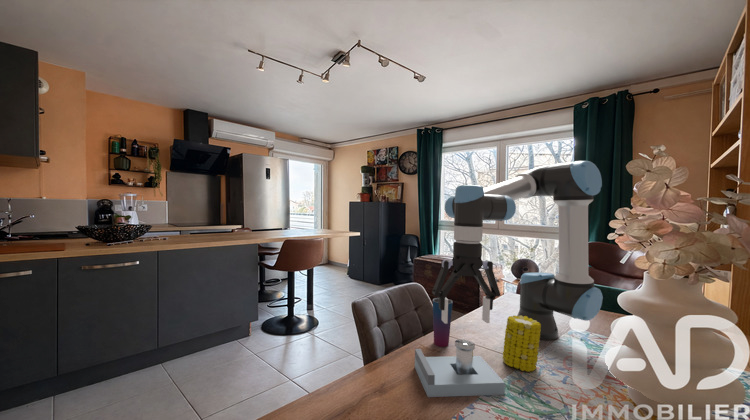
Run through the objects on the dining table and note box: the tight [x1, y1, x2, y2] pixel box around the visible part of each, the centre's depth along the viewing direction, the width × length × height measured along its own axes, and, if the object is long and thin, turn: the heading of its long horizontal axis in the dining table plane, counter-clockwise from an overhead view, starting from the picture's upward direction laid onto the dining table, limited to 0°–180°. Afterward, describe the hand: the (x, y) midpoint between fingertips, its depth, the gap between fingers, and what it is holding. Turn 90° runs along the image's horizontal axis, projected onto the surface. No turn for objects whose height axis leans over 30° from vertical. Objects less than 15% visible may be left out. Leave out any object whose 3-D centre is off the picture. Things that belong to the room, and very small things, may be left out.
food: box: [502, 315, 541, 372], centre depth 91 cm, size 15×12×10 cm
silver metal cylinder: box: [454, 338, 476, 375], centre depth 82 cm, size 5×5×10 cm
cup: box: [432, 297, 453, 348], centre depth 104 cm, size 7×7×15 cm
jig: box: [414, 348, 506, 398], centre depth 82 cm, size 20×14×5 cm
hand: (465, 321), depth 82 cm, fingers open, 11 cm apart
